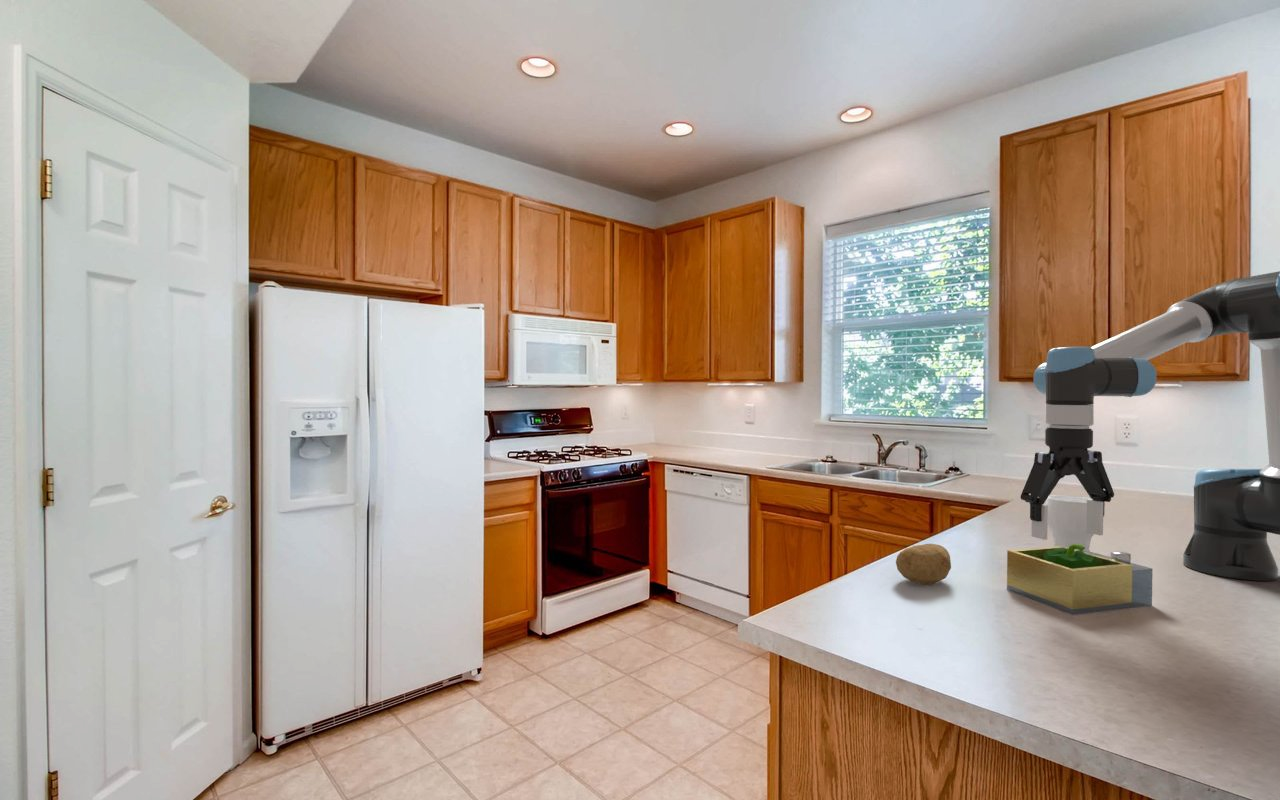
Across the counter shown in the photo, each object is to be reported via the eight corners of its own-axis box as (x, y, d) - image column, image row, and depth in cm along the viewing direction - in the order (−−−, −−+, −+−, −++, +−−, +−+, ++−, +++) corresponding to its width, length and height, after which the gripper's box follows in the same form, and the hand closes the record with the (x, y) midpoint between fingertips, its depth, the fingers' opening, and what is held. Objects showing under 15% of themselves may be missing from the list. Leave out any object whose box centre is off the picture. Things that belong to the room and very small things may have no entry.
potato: (963, 581, 126) (964, 544, 126) (931, 595, 117) (932, 555, 117) (918, 570, 133) (918, 535, 133) (885, 583, 125) (885, 545, 125)
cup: (1109, 570, 134) (1110, 503, 134) (1056, 567, 136) (1057, 502, 136) (1084, 557, 144) (1085, 495, 144) (1035, 554, 146) (1036, 494, 146)
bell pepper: (1034, 584, 120) (1035, 535, 120) (1078, 585, 119) (1079, 536, 119) (1057, 600, 112) (1059, 548, 112) (1105, 601, 111) (1107, 549, 110)
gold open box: (1080, 582, 125) (1080, 539, 125) (1151, 605, 112) (1152, 557, 112) (1006, 589, 121) (1007, 545, 121) (1072, 614, 107) (1073, 565, 107)
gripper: (1099, 424, 122) (1098, 527, 122) (1000, 426, 116) (998, 534, 116) (1138, 427, 115) (1136, 536, 115) (1034, 429, 108) (1032, 544, 109)
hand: (1067, 535), depth 115 cm, fingers open, 13 cm apart
